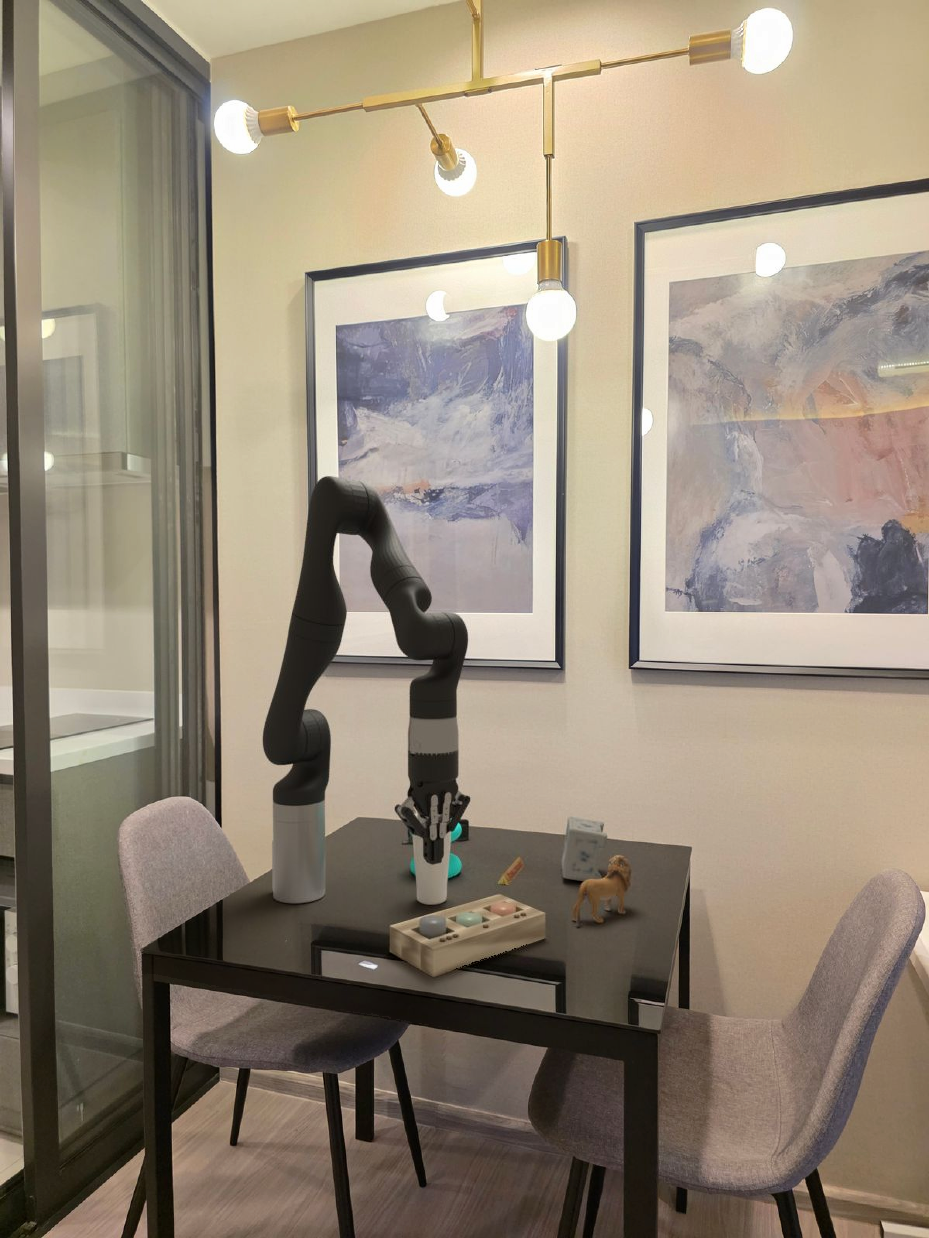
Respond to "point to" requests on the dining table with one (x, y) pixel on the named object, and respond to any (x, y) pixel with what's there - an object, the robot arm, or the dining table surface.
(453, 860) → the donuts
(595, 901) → the lion figurine
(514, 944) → the button panel
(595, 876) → the incense holder
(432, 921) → the slate button
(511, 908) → the terracotta button
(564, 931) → the dining table surface
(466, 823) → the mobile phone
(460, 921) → the sage button
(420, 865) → the drinking glass
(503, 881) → the chocolate bar
